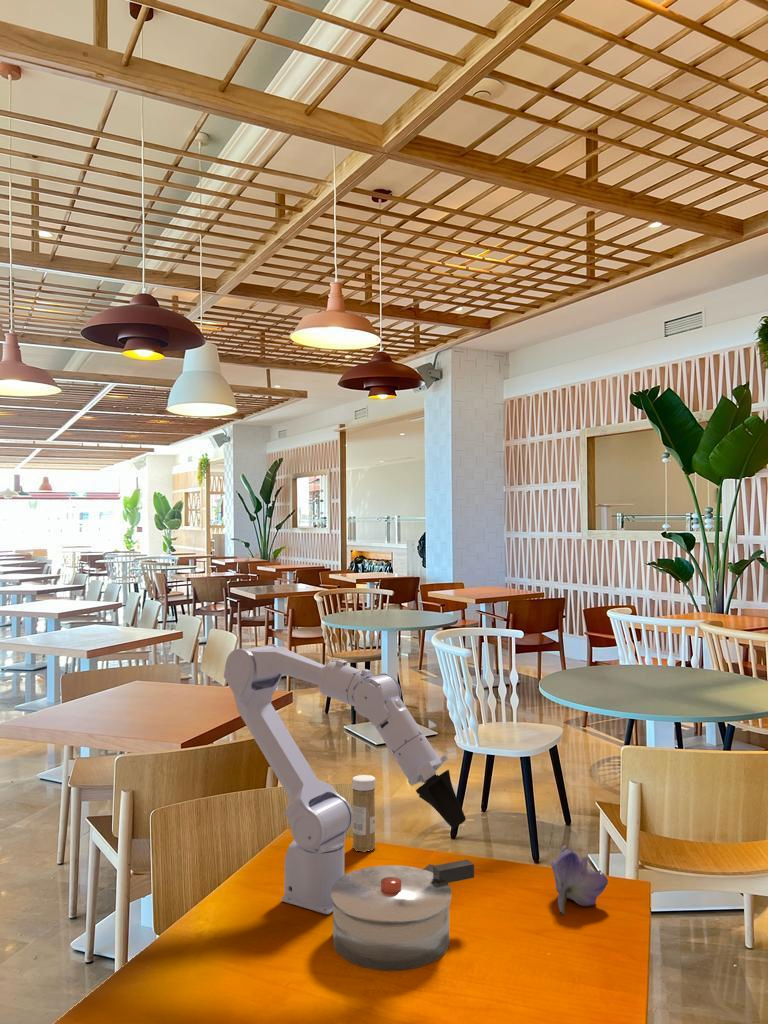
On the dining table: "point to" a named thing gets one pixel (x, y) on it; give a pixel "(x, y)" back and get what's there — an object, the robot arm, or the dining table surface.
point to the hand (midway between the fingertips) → (459, 824)
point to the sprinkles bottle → (363, 812)
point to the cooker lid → (398, 892)
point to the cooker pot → (391, 941)
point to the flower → (576, 880)
